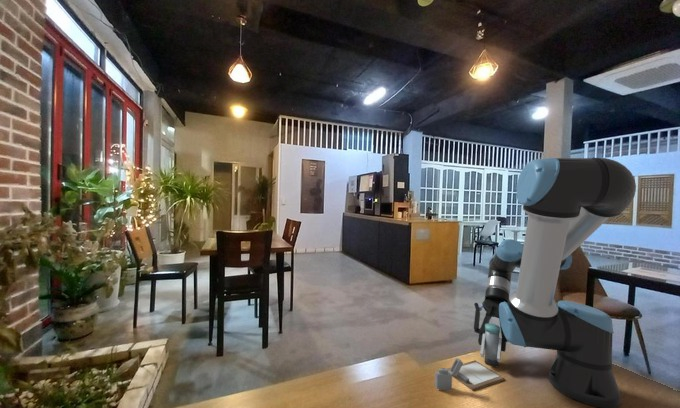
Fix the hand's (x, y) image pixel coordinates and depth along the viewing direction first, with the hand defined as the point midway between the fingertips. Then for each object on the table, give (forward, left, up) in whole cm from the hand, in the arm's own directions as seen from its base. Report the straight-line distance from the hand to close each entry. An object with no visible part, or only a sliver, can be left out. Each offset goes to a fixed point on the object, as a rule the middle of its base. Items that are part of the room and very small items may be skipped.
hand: (490, 357), depth 88 cm
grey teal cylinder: (+2, -3, -3) cm, 5 cm away
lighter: (-2, +20, -4) cm, 20 cm away
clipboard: (-1, +8, -3) cm, 8 cm away
